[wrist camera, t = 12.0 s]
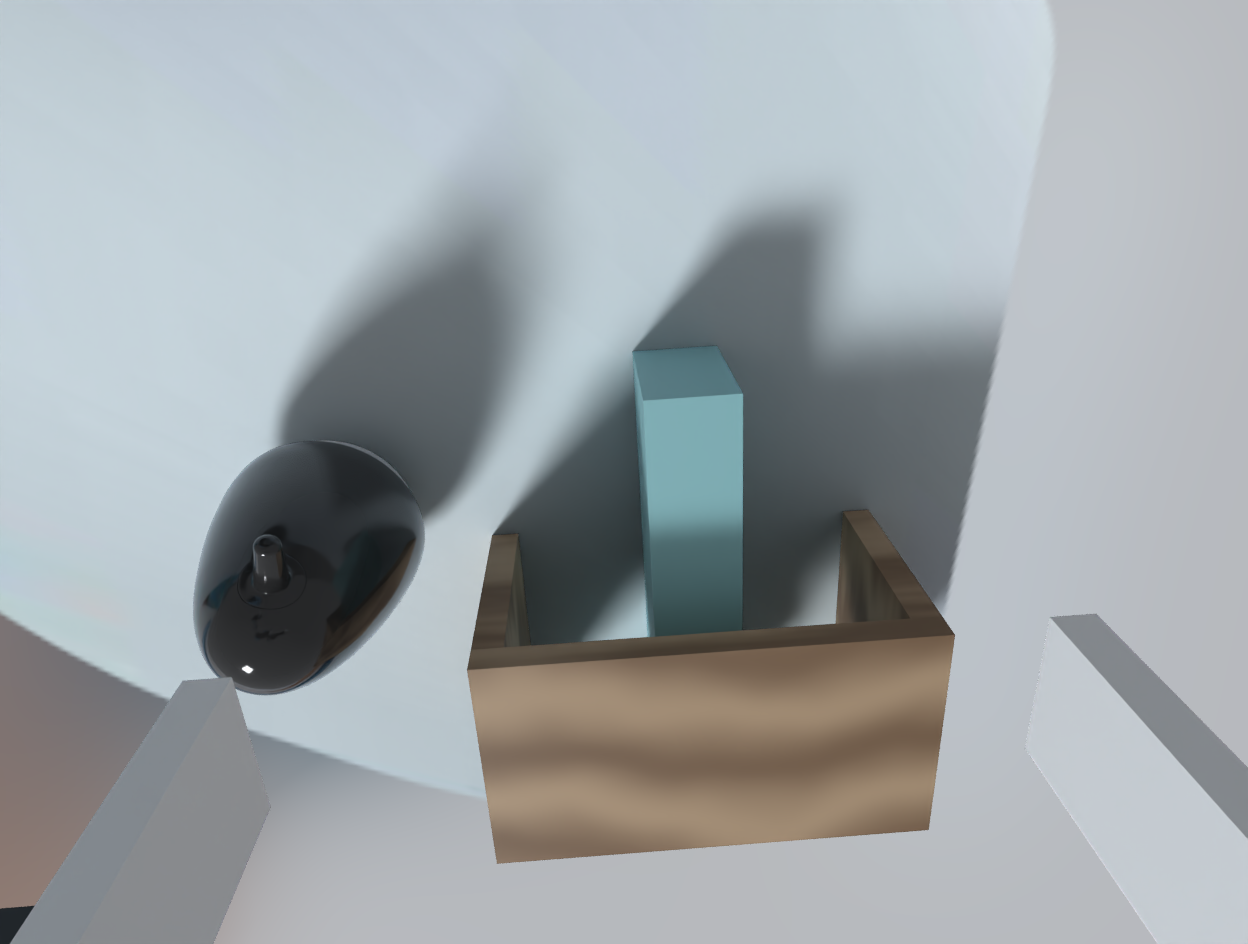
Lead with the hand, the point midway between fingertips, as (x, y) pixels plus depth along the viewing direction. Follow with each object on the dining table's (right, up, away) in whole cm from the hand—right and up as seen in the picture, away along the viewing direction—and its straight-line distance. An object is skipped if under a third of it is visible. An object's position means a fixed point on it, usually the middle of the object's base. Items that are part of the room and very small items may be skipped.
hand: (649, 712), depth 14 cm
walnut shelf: (+3, -4, +38) cm, 38 cm away
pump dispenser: (-16, +3, +34) cm, 38 cm away
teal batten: (+3, 0, +36) cm, 36 cm away
